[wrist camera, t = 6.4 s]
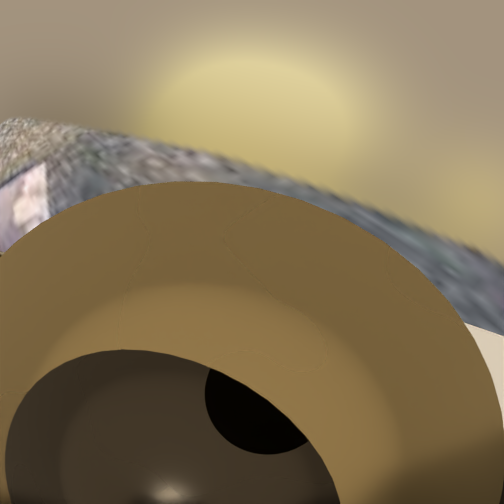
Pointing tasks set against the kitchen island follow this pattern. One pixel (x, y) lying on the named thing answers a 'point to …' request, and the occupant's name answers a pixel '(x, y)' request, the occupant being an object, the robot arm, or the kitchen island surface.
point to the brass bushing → (234, 360)
